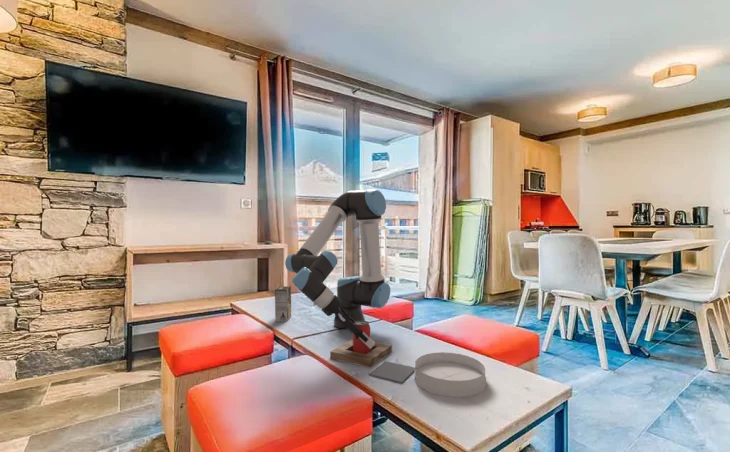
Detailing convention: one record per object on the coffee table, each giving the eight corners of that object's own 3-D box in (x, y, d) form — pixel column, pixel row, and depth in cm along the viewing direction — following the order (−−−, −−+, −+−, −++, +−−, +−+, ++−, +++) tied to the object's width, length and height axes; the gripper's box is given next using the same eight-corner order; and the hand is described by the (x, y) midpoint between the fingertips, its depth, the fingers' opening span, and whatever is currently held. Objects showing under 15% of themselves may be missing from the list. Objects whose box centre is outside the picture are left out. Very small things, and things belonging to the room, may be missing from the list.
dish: (400, 375, 117) (400, 360, 117) (451, 361, 128) (451, 347, 128) (447, 405, 98) (447, 387, 98) (501, 386, 109) (501, 370, 109)
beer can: (368, 358, 131) (368, 325, 130) (351, 356, 132) (351, 324, 132) (371, 351, 137) (371, 320, 137) (355, 350, 138) (355, 319, 138)
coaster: (385, 362, 127) (385, 361, 127) (416, 369, 121) (416, 367, 121) (368, 375, 117) (368, 373, 117) (401, 383, 111) (401, 382, 111)
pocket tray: (354, 343, 146) (354, 337, 146) (391, 351, 137) (391, 345, 137) (330, 357, 131) (330, 351, 131) (370, 367, 123) (370, 360, 123)
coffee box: (279, 316, 188) (279, 286, 187) (291, 316, 188) (291, 286, 187) (274, 321, 179) (274, 289, 178) (287, 321, 178) (287, 289, 178)
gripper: (319, 303, 141) (360, 341, 144) (321, 316, 122) (368, 360, 125) (332, 289, 142) (373, 327, 145) (337, 300, 123) (383, 344, 126)
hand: (370, 342), depth 135 cm, fingers closed on beer can, 7 cm apart
